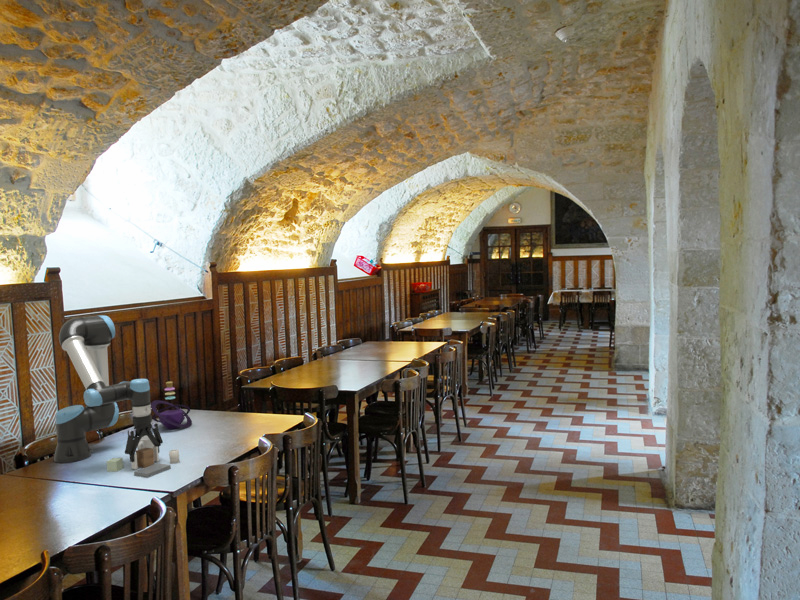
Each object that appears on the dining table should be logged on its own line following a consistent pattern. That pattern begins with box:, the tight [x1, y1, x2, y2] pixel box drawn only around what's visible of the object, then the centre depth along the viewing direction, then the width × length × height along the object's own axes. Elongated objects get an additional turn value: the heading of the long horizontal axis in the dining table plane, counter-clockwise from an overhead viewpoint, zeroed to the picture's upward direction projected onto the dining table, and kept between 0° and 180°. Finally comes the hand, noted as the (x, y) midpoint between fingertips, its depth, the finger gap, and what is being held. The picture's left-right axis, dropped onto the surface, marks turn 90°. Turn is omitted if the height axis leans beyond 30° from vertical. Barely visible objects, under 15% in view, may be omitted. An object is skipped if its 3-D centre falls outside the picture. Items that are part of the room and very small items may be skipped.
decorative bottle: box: [150, 380, 193, 430], centre depth 331 cm, size 22×21×25 cm
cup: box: [136, 436, 155, 450], centre depth 285 cm, size 11×8×8 cm
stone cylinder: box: [168, 449, 180, 465], centre depth 272 cm, size 4×4×5 cm
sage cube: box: [106, 457, 124, 473], centre depth 265 cm, size 4×4×4 cm
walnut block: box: [135, 448, 155, 469], centre depth 269 cm, size 5×5×7 cm
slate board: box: [133, 462, 172, 479], centre depth 260 cm, size 8×12×2 cm, turn 152°
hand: (145, 464), depth 269 cm, fingers open, 10 cm apart
